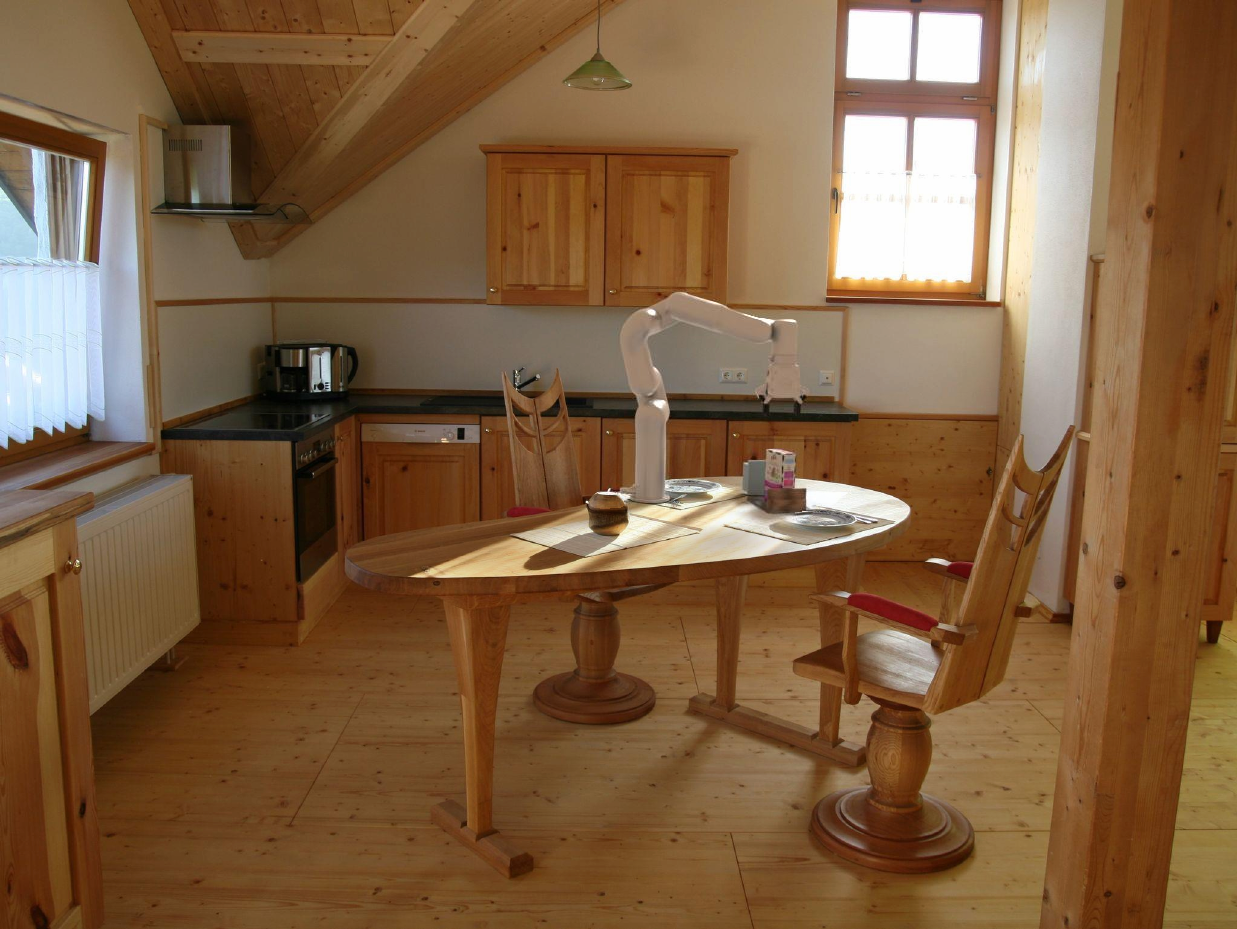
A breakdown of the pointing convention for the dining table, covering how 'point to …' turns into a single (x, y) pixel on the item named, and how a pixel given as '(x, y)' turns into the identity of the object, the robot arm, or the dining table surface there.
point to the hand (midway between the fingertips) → (781, 416)
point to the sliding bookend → (754, 477)
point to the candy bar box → (779, 469)
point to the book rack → (782, 501)
